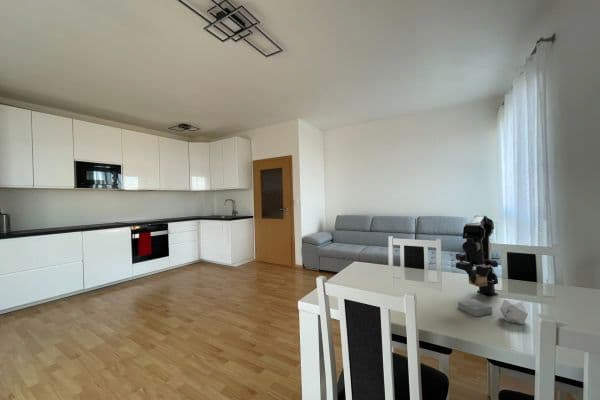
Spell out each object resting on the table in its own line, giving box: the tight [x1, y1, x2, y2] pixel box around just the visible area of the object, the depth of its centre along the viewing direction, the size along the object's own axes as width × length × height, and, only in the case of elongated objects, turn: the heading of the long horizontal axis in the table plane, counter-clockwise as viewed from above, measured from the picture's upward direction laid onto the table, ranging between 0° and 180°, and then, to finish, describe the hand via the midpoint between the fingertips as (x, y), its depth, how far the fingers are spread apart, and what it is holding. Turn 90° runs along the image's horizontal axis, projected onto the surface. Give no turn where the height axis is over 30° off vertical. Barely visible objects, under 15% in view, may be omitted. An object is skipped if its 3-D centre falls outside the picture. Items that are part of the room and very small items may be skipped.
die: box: [499, 299, 529, 325], centre depth 96 cm, size 8×9×10 cm
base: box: [457, 298, 493, 317], centre depth 107 cm, size 9×9×3 cm
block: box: [467, 274, 487, 288], centre depth 111 cm, size 5×5×4 cm
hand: (477, 282), depth 111 cm, fingers closed on block, 5 cm apart
